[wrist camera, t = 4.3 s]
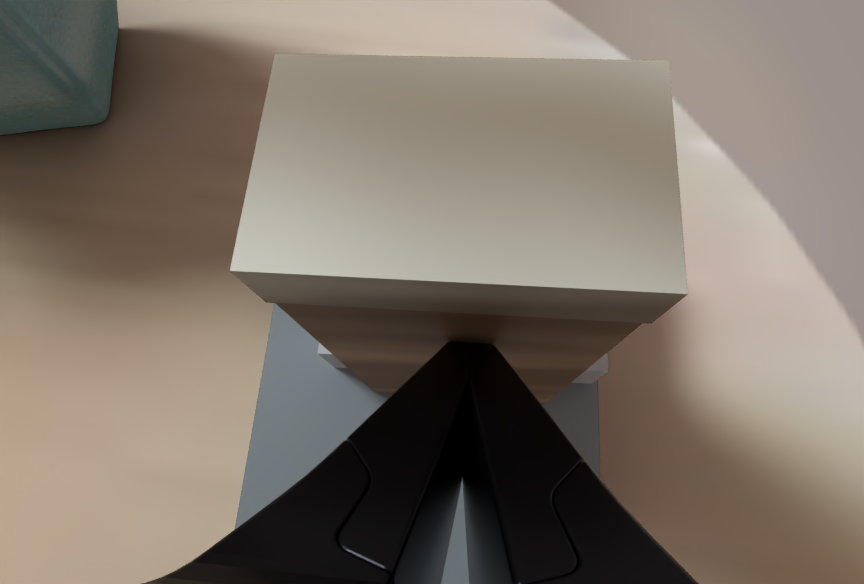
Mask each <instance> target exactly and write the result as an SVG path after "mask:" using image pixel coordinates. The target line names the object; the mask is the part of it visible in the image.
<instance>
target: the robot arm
mask: <svg viewBox="0 0 864 584" xmlns="http://www.w3.org/2000/svg"><path fill="white" fill-rule="evenodd" d="M462 478H463V497H464V512H465V527H466V543H467V558H468V573H469V584H698V583H697V582H696V581H695V580H694V579H693V578H692V576H691V575H690V574H689V573H688V572H687V571H686V570H685V569H684V568H683V567H682V566H681V565H680V564H679V563H678V562H677V561H676V560H675V559H674V558H673V557H672V556H671V555H670V554H669V553H668V552H667V551H666V550H665V549H664V548H663V547H662V546H661V545H660V544H659V543H658V542H657V541H656V540H655V539H654V538H653V537H652V536H651V535H650V534H649V533H648V532H647V531H646V530H645V529H644V528H643V527H642V525H641V524H640V523H639V522H638V521H637V520H636V519H635V518H634V517H633V516H632V515H631V514H630V513H629V512H628V511H627V510H626V508H625V507H624V506H623V505H622V504H621V503H620V502H619V501H618V499H617V498H616V497H615V496H614V495H613V494H612V492H611V491H610V490H609V489H608V488H607V486H606V485H605V484H604V483H603V482H602V480H601V479H600V478H599V477H598V476H597V474H596V473H595V472H594V470H593V469H592V468H591V467H590V465H589V464H588V463H587V462H585V461H584V458H583V457H582V456H581V454H580V453H579V452H578V450H577V449H576V448H575V447H574V445H573V444H572V443H571V442H570V440H569V439H568V438H567V436H566V435H565V434H564V433H563V431H562V430H561V429H560V428H559V426H558V425H557V424H556V422H555V421H554V420H553V419H552V417H551V416H550V415H549V414H548V412H547V411H546V410H545V408H544V407H543V406H542V405H541V403H540V402H539V401H538V400H537V398H536V397H535V396H534V395H533V393H532V392H531V391H530V389H529V388H528V387H527V386H526V384H525V383H524V382H523V381H522V379H521V378H520V377H519V375H518V374H517V373H516V372H515V370H514V369H513V368H512V367H511V365H510V364H509V363H508V361H507V360H506V359H505V358H504V356H503V355H502V354H501V353H500V351H499V350H498V349H497V348H496V346H494V345H492V344H479V343H473V344H470V343H465V342H447V343H446V344H445V345H444V346H443V347H442V348H441V349H440V350H439V351H438V352H437V353H436V354H435V355H434V356H433V357H431V358H430V359H429V360H428V361H427V362H426V363H425V364H424V365H423V366H422V367H421V368H420V369H419V370H418V371H417V372H416V373H415V374H414V375H413V376H411V377H410V378H409V379H408V380H407V381H406V382H405V383H404V384H403V385H402V386H401V387H400V388H399V389H398V390H397V391H396V392H395V393H394V394H393V395H392V396H390V397H389V398H388V399H387V400H386V401H385V402H384V403H383V404H382V405H381V406H380V407H379V408H378V409H377V410H376V411H375V412H374V413H373V414H372V415H371V416H369V417H368V418H367V419H366V420H365V421H364V422H363V423H362V424H361V425H360V426H359V427H358V428H357V429H356V430H355V431H354V432H353V433H352V434H351V435H349V436H348V437H347V440H344V441H343V442H342V443H341V444H340V445H339V446H338V447H337V448H336V449H334V450H333V451H332V452H331V453H330V454H329V455H328V456H327V457H326V458H325V459H324V460H322V461H321V462H320V463H319V464H318V465H317V466H316V467H315V468H313V469H312V470H311V471H310V472H309V473H308V474H307V475H305V476H304V477H303V478H302V479H300V480H299V481H298V482H297V483H295V484H294V485H293V486H291V487H290V488H289V489H288V490H286V491H285V492H284V493H283V494H281V495H280V496H279V497H278V498H276V499H275V500H274V501H272V502H271V503H270V504H268V505H267V506H266V507H264V508H263V509H262V510H260V511H259V512H258V513H256V514H255V515H254V516H252V517H251V518H250V519H248V520H247V521H246V522H244V523H243V524H242V525H240V526H239V527H238V528H236V529H235V530H234V531H232V532H231V533H230V534H228V535H227V536H226V537H224V538H223V539H222V540H220V541H219V542H218V543H216V544H215V545H214V546H212V547H211V548H210V549H208V550H207V551H206V552H204V553H203V554H201V555H200V556H198V557H197V558H196V559H194V560H193V561H191V562H190V563H188V564H186V565H185V566H183V567H181V568H179V569H178V570H176V571H174V572H172V573H170V574H168V575H165V576H163V577H161V578H158V579H155V580H152V581H149V582H146V583H142V584H441V582H442V577H443V572H444V567H445V562H446V557H447V552H448V547H449V543H450V538H451V533H452V528H453V523H454V518H455V513H456V508H457V503H458V498H459V493H460V488H461V483H462Z"/></svg>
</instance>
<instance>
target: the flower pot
mask: <svg viewBox="0 0 864 584" xmlns="http://www.w3.org/2000/svg"><path fill="white" fill-rule="evenodd" d="M117 38H118V12H117V0H0V135H6V134H14V133H22V132H29V131H36V130H46V129H56V128H65V127H75V126H85V125H93V124H97V123H100V122H102V121H104V120H105V119H106V117H107V115H108V113H109V107H110V98H111V88H112V78H113V69H114V61H115V53H116V45H117Z"/></svg>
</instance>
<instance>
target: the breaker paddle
mask: <svg viewBox="0 0 864 584" xmlns="http://www.w3.org/2000/svg"><path fill="white" fill-rule="evenodd" d="M230 272H232V273H233V274H234V275H235V276H236V277H237V278H239V279H240V280H241V281H242V282H243V283H244V284H246V285H247V286H248V287H249V288H250V289H251V290H253V291H254V292H255V293H256V294H257V295H258V296H260V297H261V298H262V299H263V300H264V301H265V302H270V303H276V304H277V305H278V306H279V307H280V308H281V309H282V310H283V311H284V312H286V313H287V314H288V315H289V316H290V317H291V318H292V319H293V320H295V321H296V322H297V323H298V324H299V325H300V326H301V327H302V328H303V329H305V330H306V331H307V332H308V333H309V334H310V335H311V336H312V337H314V338H315V339H316V340H317V341H318V342H319V343H320V344H321V345H323V346H324V347H325V348H326V349H327V350H328V351H329V352H330V353H331V354H333V355H334V356H335V357H336V358H337V359H338V360H339V361H340V362H342V363H343V364H344V365H345V366H346V367H347V368H348V369H349V370H350V371H352V372H353V373H354V374H355V375H356V376H357V377H358V378H359V379H361V380H362V381H363V382H364V383H365V384H366V385H367V386H368V387H369V388H371V389H372V390H373V391H374V392H385V393H395V392H396V391H397V390H398V389H399V388H400V387H401V386H402V385H403V384H404V383H405V382H406V381H407V380H408V379H409V378H410V377H411V376H413V375H414V374H415V373H416V372H417V371H418V370H419V369H420V368H421V367H422V366H423V365H424V364H425V363H426V362H427V361H428V360H429V359H430V358H431V357H433V356H434V355H435V354H436V353H437V352H438V351H439V350H440V349H441V348H442V347H443V346H444V345H445V344H446V343H447V342H465V343H470V344H473V343H479V344H492V345H494V346H496V348H497V349H498V350H499V351H500V353H501V354H502V355H503V356H504V358H505V359H506V360H507V361H508V363H509V364H510V365H511V367H512V368H513V369H514V370H515V372H516V373H517V374H518V375H519V377H520V378H521V379H522V381H523V382H524V383H525V384H526V386H527V387H528V388H529V389H530V391H531V392H532V393H533V395H534V396H535V397H536V398H537V400H538V401H539V402H540V403H547V402H548V401H549V400H551V399H552V398H553V397H554V396H555V395H557V394H558V393H559V392H560V391H561V390H563V389H564V388H565V387H566V386H567V385H569V384H570V383H571V382H572V381H573V380H575V379H576V378H577V377H578V376H579V375H581V374H582V373H583V372H584V371H585V370H587V369H588V368H589V367H590V366H591V365H593V364H594V363H595V362H596V361H597V360H599V359H600V358H601V357H602V356H603V355H605V354H606V353H607V352H608V351H609V350H611V349H612V348H613V347H614V346H616V345H617V344H618V343H619V342H620V341H622V340H623V339H624V338H625V337H626V336H628V335H629V334H630V333H631V332H632V331H634V330H635V329H636V328H637V327H638V326H640V325H641V324H642V323H652V322H653V321H655V320H656V319H657V318H658V317H660V316H661V315H662V314H663V313H665V312H666V311H667V310H669V309H670V308H671V307H672V306H674V305H675V304H676V303H677V302H679V301H680V300H681V299H682V298H684V297H685V296H686V295H687V294H688V288H687V275H686V263H685V251H684V239H683V227H682V215H681V202H680V190H679V178H678V166H677V154H676V142H675V129H674V117H673V105H672V93H671V82H670V69H669V61H656V60H654V61H653V60H601V59H545V58H489V57H433V56H378V55H322V54H275V55H274V59H273V64H272V69H271V74H270V79H269V84H268V88H267V93H266V98H265V103H264V108H263V112H262V117H261V122H260V127H259V132H258V137H257V141H256V146H255V151H254V156H253V161H252V165H251V170H250V175H249V180H248V185H247V190H246V194H245V199H244V204H243V209H242V214H241V219H240V223H239V228H238V233H237V238H236V243H235V247H234V252H233V257H232V262H231V267H230Z"/></svg>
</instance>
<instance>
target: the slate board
mask: <svg viewBox="0 0 864 584" xmlns="http://www.w3.org/2000/svg"><path fill="white" fill-rule="evenodd" d="M607 372H609V370H608V352H607V353H606V354H605V355H603V356H602V357H601V358H600V359H599V360H597V361H596V362H595V363H594V364H593V365H591V366H590V367H589V368H588V369H587V370H585V371H584V372H583V373H582V374H581V375H579V376H578V377H577V378H576V379H575V380H573V381H572V382H571V383H570V384H569V385H567V386H566V387H565V388H564V389H563V390H561V391H560V392H559V393H558V394H557V395H555V396H554V397H553V398H552V399H551V400H549V401H548V402H547V403H541V405H542V406H543V407H544V408H545V410H546V411H547V412H548V414H549V415H550V416H551V417H552V419H553V420H554V421H555V422H556V424H557V425H558V426H559V428H560V429H561V430H562V431H563V433H564V434H565V435H566V436H567V438H568V439H569V440H570V442H571V443H572V444H573V445H574V447H575V448H576V449H577V450H578V452H579V453H580V454H581V456H582V457H583V458H584V461H585V462H587V463H588V464H589V465H590V467H591V468H592V469H593V470H594V472H595V473H596V474H597V476H598V477H599V478H600V450H599V409H598V379H599V378H600V377H601V376H603V375H604V374H606V373H607ZM393 394H394V393H385V392H374V391H373V390H372V389H371V388H369V387H368V386H367V385H366V384H365V383H364V382H363V381H362V380H361V379H359V378H358V377H357V376H356V375H355V374H354V373H353V372H352V371H350V370H349V369H348V368H347V367H346V366H345V365H344V364H343V363H342V362H340V361H339V360H338V359H337V358H336V357H335V356H334V355H333V354H331V353H330V352H329V351H328V350H327V349H326V348H325V347H324V346H323V345H321V344H320V343H319V342H318V341H317V340H316V339H315V338H314V337H312V336H311V335H310V334H309V333H308V332H307V331H306V330H305V329H303V328H302V327H301V326H300V325H299V324H298V323H297V322H296V321H295V320H293V319H292V318H291V317H290V316H289V315H288V314H287V313H286V312H284V311H283V310H282V309H281V308H280V307H279V306H278V305H277V304H276V303H274V309H273V314H272V320H271V326H270V331H269V337H268V343H267V348H266V354H265V360H264V366H263V371H262V377H261V383H260V388H259V394H258V400H257V405H256V411H255V417H254V423H253V428H252V434H251V440H250V445H249V451H248V457H247V463H246V468H245V474H244V480H243V485H242V491H241V497H240V502H239V508H238V514H237V520H236V525H235V529H236V528H238V527H239V526H240V525H242V524H243V523H244V522H246V521H247V520H248V519H250V518H251V517H252V516H254V515H255V514H256V513H258V512H259V511H260V510H262V509H263V508H264V507H266V506H267V505H268V504H270V503H271V502H272V501H274V500H275V499H276V498H278V497H279V496H280V495H281V494H283V493H284V492H285V491H286V490H288V489H289V488H290V487H291V486H293V485H294V484H295V483H297V482H298V481H299V480H300V479H302V478H303V477H304V476H305V475H307V474H308V473H309V472H310V471H311V470H312V469H313V468H315V467H316V466H317V465H318V464H319V463H320V462H321V461H322V460H324V459H325V458H326V457H327V456H328V455H329V454H330V453H331V452H332V451H333V450H334V449H336V448H337V447H338V446H339V445H340V444H341V443H342V442H343V441H344V440H347V437H348V436H349V435H351V434H352V433H353V432H354V431H355V430H356V429H357V428H358V427H359V426H360V425H361V424H362V423H363V422H364V421H365V420H366V419H367V418H368V417H369V416H371V415H372V414H373V413H374V412H375V411H376V410H377V409H378V408H379V407H380V406H381V405H382V404H383V403H384V402H385V401H386V400H387V399H388V398H389V397H390V396H392V395H393ZM441 584H469V573H468V558H467V543H466V527H465V512H464V497H463V478H462V483H461V488H460V493H459V498H458V503H457V508H456V513H455V518H454V523H453V528H452V533H451V538H450V543H449V547H448V552H447V557H446V562H445V567H444V572H443V577H442V582H441Z"/></svg>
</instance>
